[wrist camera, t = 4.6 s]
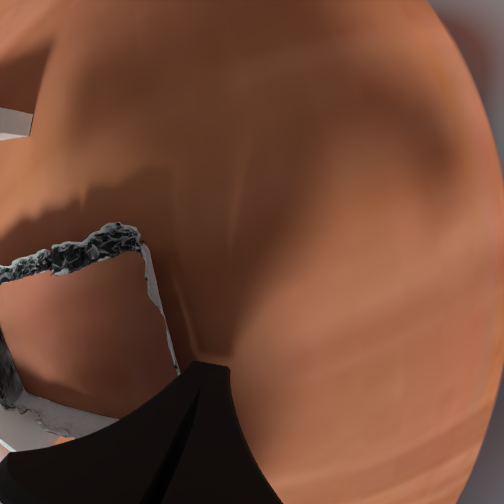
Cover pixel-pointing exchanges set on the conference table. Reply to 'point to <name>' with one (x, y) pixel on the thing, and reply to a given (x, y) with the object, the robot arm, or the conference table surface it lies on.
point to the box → (3, 422)
